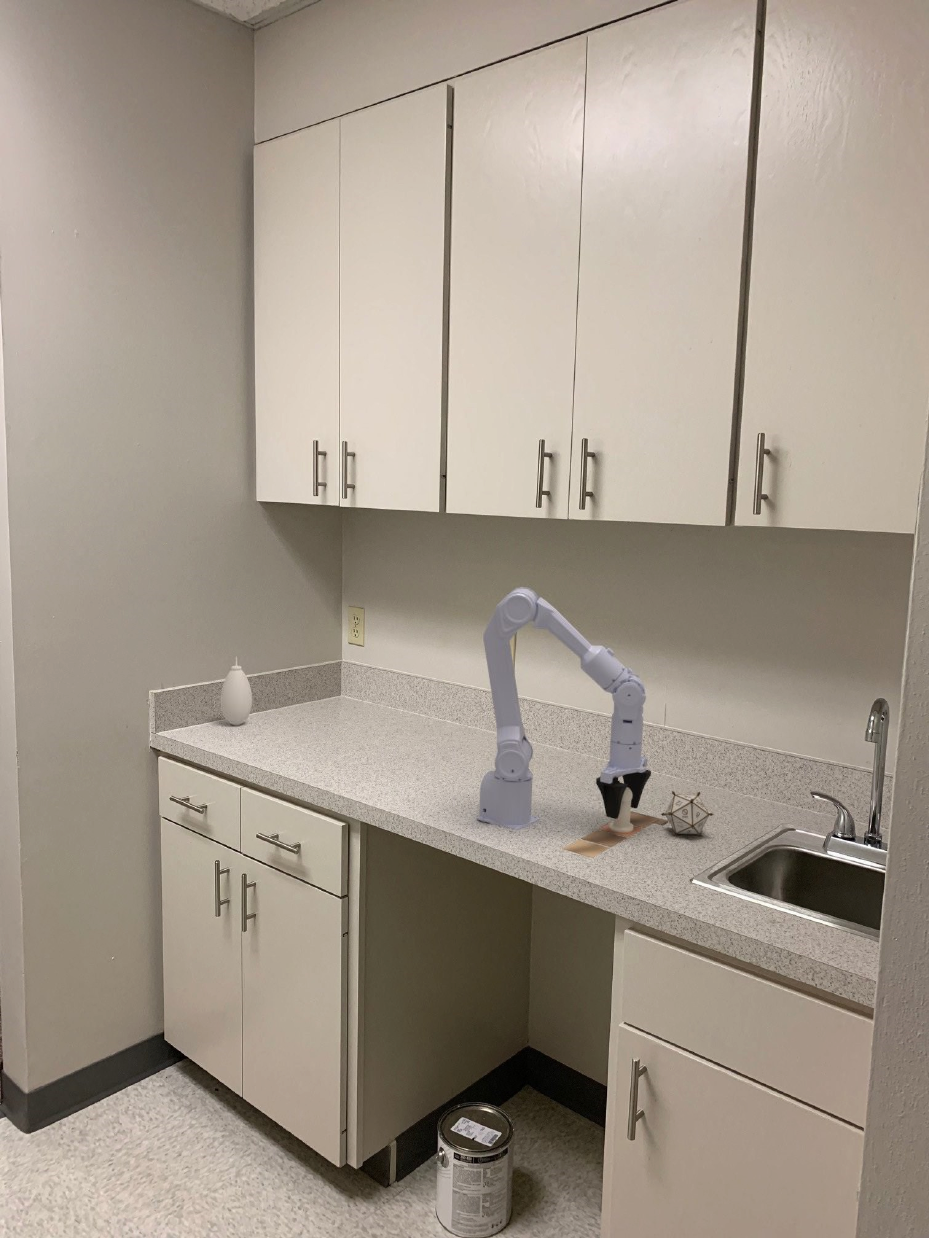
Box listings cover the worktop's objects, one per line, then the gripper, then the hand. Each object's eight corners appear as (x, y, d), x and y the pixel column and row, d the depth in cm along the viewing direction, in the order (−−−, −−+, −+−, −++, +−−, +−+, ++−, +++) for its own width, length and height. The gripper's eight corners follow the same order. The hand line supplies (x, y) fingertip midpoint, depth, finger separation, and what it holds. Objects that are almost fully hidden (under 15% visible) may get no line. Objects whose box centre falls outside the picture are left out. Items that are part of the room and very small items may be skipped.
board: (551, 850, 164) (551, 847, 164) (626, 811, 186) (626, 809, 186) (597, 863, 159) (597, 861, 159) (668, 822, 181) (668, 820, 181)
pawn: (604, 829, 174) (607, 786, 173) (616, 823, 178) (618, 781, 177) (626, 835, 172) (628, 791, 171) (637, 828, 175) (639, 786, 174)
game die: (688, 851, 176) (714, 805, 178) (701, 851, 168) (728, 803, 170) (647, 824, 177) (673, 779, 179) (658, 823, 169) (685, 776, 171)
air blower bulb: (240, 729, 240) (240, 659, 237) (214, 726, 242) (214, 657, 240) (257, 723, 247) (257, 655, 244) (232, 719, 250) (232, 652, 247)
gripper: (627, 752, 165) (622, 827, 166) (663, 737, 176) (659, 807, 178) (591, 745, 169) (588, 818, 171) (629, 730, 180) (625, 799, 182)
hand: (622, 812), depth 175 cm, fingers open, 7 cm apart
